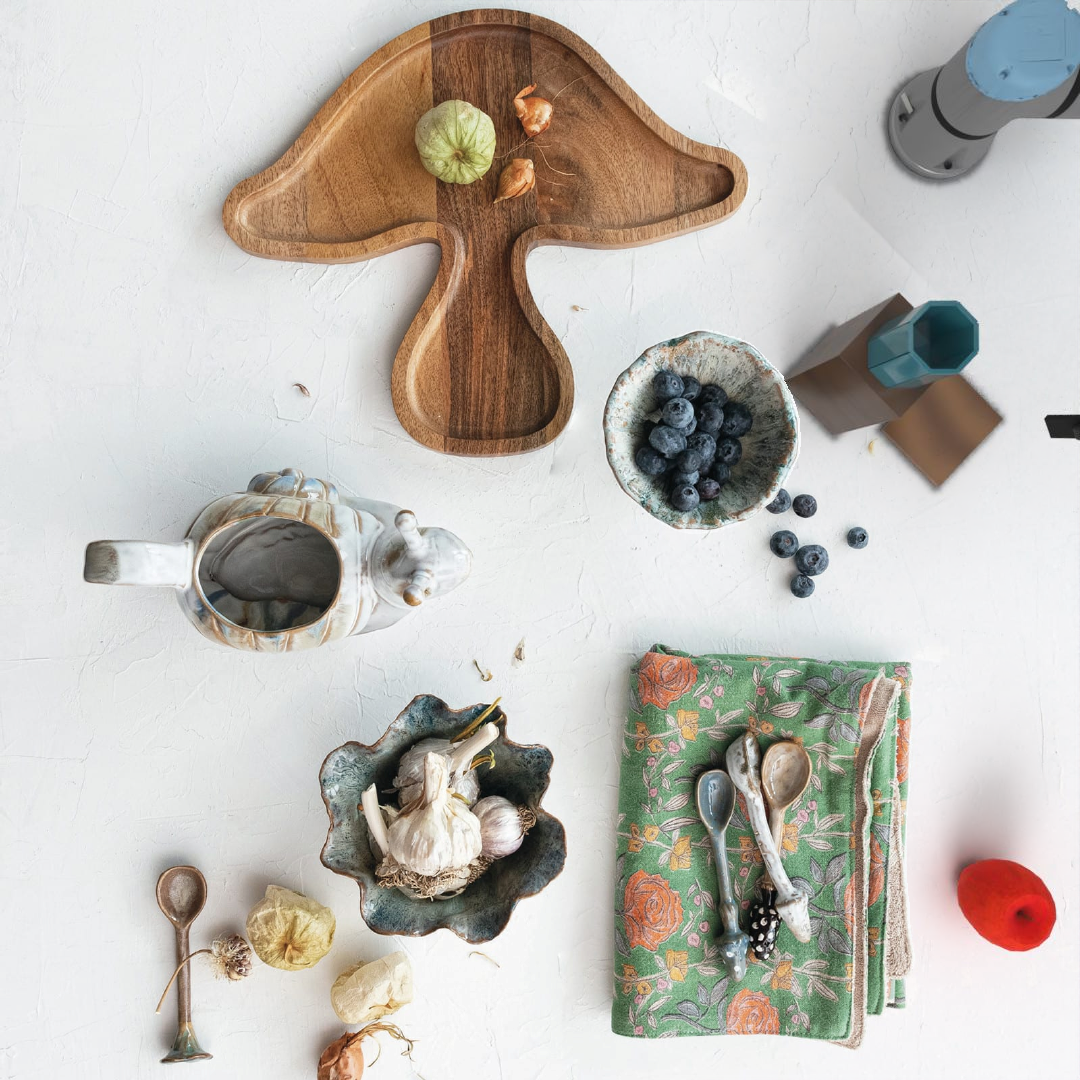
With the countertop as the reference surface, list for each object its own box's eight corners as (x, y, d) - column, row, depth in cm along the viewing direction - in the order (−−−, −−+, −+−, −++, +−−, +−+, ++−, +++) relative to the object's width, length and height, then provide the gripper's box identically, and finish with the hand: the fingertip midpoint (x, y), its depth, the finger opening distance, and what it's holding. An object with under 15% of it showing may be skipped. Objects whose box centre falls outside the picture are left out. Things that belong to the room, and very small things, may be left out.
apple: (1019, 910, 128) (1081, 955, 115) (945, 929, 127) (1000, 976, 114) (1004, 834, 128) (1065, 870, 114) (930, 853, 127) (983, 891, 114)
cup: (899, 308, 105) (943, 285, 95) (945, 355, 105) (993, 337, 95) (854, 355, 104) (893, 337, 94) (900, 402, 105) (944, 389, 95)
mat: (943, 362, 126) (947, 361, 125) (999, 419, 127) (1003, 418, 126) (879, 430, 125) (883, 429, 124) (935, 487, 126) (939, 486, 125)
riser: (832, 329, 125) (899, 291, 105) (884, 382, 125) (960, 355, 105) (781, 382, 124) (838, 355, 104) (833, 435, 125) (900, 418, 105)
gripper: (1266, 498, 76) (1032, 484, 95) (1375, 340, 84) (1139, 355, 102) (1250, 431, 73) (1012, 430, 92) (1365, 273, 81) (1124, 301, 99)
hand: (1079, 390), depth 97 cm, fingers open, 13 cm apart
